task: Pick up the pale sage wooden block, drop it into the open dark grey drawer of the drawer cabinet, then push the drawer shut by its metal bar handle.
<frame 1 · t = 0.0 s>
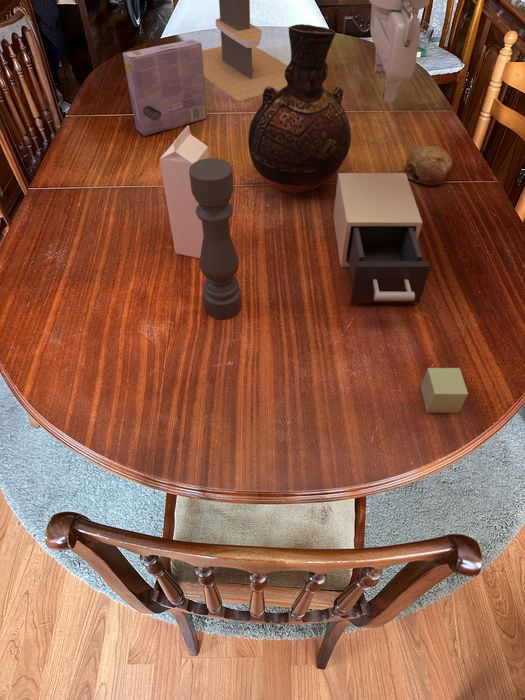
hand: (383, 87, 84), 24 cm above the table, tool pointing down, fingers open, 8 cm apart
architectural model: (242, 68, 152), on the table
ceramic vessel: (297, 184, 110), on the table
dark grey drawer: (384, 264, 85), point 5 cm above the table, slide at 9.0 cm
cake pan box: (174, 124, 128), on the table
candle holder: (223, 307, 85), on the table
drawer cabinet: (369, 240, 97), on the table
milk: (196, 247, 96), on the table
block: (439, 399, 72), on the table
brown mottled round lump: (427, 174, 112), on the table
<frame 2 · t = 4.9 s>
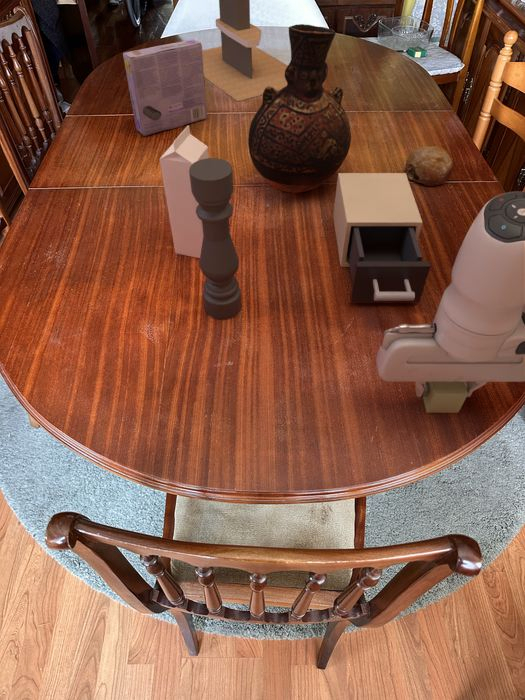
hand: (442, 392, 71), 2 cm above the table, tool pointing down, fingers closed on block, 4 cm apart
block: (438, 399, 72), on the table, touching gripper
everything else where it was.
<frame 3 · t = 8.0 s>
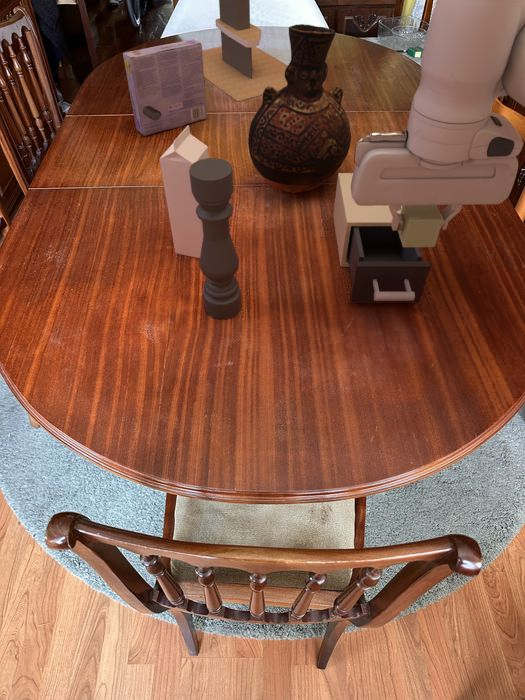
hand: (418, 227, 71), 17 cm above the table, tool pointing down, fingers closed on block, 4 cm apart
block: (415, 237, 72), point 15 cm above the table, touching gripper
everything else where it was.
when the fingers open (9 cm above the table, at t = 11.1 s): block drops 5 cm, resting on dark grey drawer.
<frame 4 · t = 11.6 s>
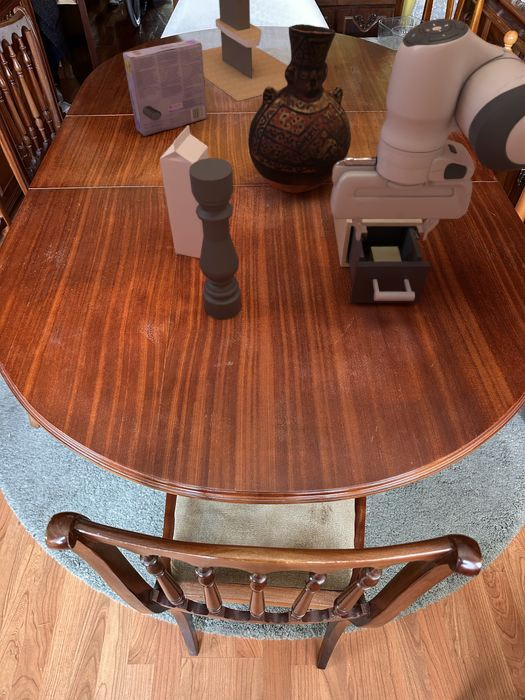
hand: (390, 238, 81), 10 cm above the table, tool pointing down, fingers open, 8 cm apart
dark grey drawer: (384, 264, 85), point 5 cm above the table, slide at 9.0 cm, touching block
block: (381, 275, 87), point 2 cm above the table, touching dark grey drawer
everything else where it was.
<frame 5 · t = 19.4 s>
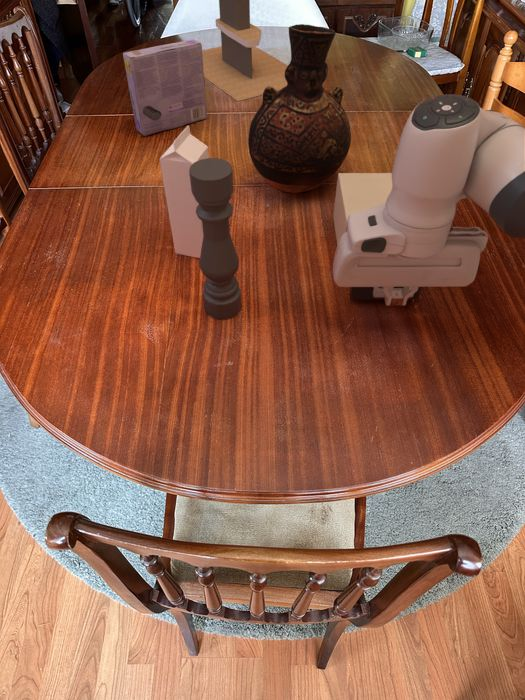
hand: (394, 302, 78), 5 cm above the table, tool pointing down, fingers closed
dark grey drawer: (383, 261, 85), point 5 cm above the table, slide at 8.2 cm, touching block, gripper
everything else where it was.
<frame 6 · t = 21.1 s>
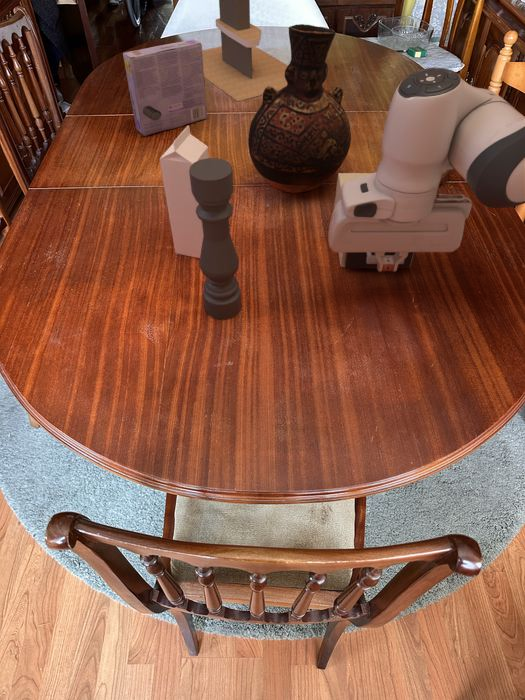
hand: (386, 269, 83), 5 cm above the table, tool pointing down, fingers closed, pressing on dark grey drawer
dark grey drawer: (376, 232, 90), point 5 cm above the table, slide at 0.2 cm, touching block, gripper
block: (374, 244, 93), point 2 cm above the table, touching dark grey drawer
everything else where it was.
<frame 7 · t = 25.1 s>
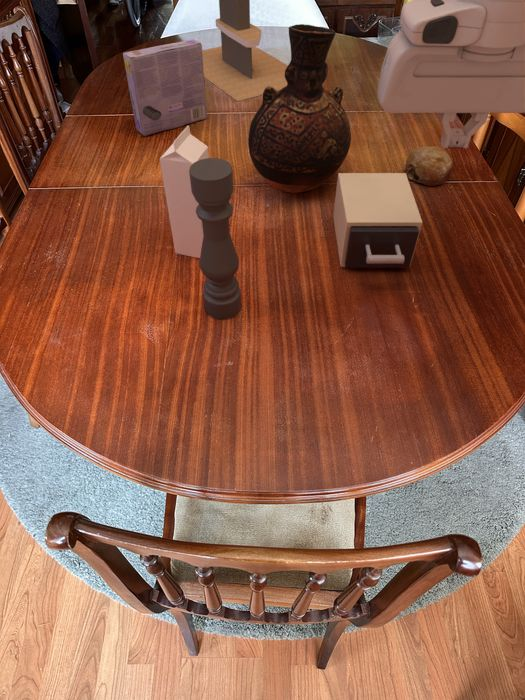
hand: (453, 146, 62), 29 cm above the table, tool pointing down, fingers closed
dark grey drawer: (376, 232, 90), point 5 cm above the table, slide at 0.1 cm, touching block
everything else where it was.
at the end: block inside the target area in the drawer cabinet (3.6 cm from its centre), point 2.0 cm above the drawer cabinet's base; dark grey drawer slide at 0.1 cm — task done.
